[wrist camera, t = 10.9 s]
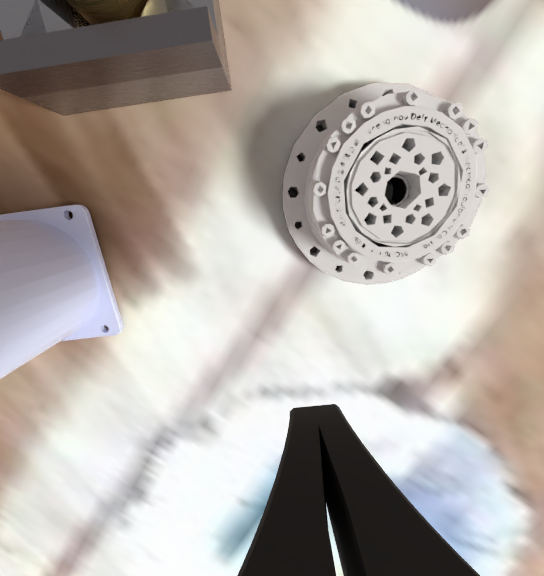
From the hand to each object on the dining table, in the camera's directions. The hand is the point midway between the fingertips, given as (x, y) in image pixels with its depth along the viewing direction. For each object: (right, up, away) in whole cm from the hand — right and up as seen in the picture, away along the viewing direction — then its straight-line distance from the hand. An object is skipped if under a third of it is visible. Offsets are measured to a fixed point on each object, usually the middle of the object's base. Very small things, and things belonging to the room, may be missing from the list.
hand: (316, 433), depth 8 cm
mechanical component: (+4, +10, +8) cm, 13 cm away
